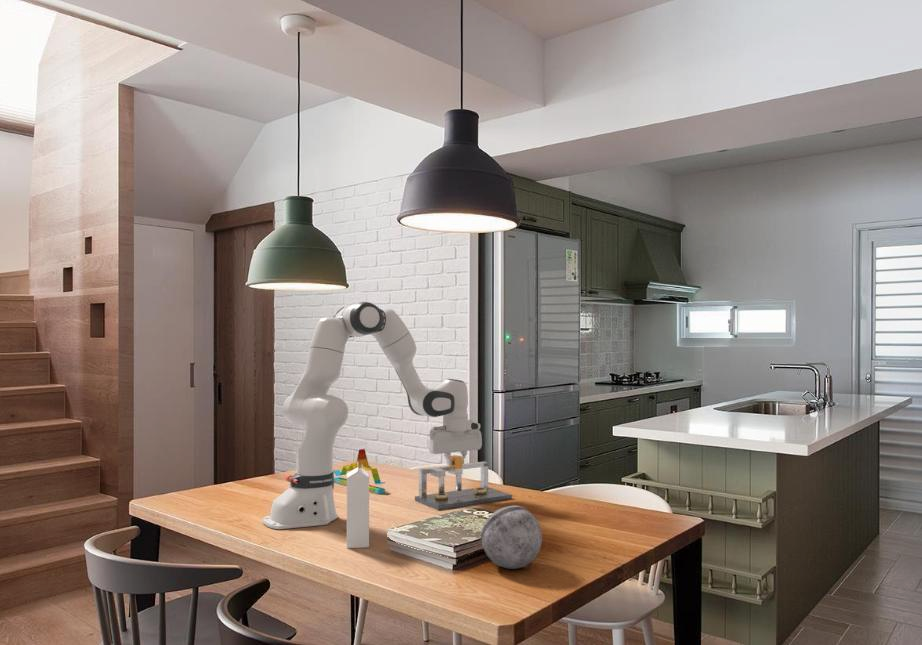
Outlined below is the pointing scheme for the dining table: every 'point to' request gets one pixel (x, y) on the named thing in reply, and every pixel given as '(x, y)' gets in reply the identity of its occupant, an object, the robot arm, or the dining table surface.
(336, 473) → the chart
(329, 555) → the dining table surface
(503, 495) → the plate
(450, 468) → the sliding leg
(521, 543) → the decorative orb
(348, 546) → the milk
